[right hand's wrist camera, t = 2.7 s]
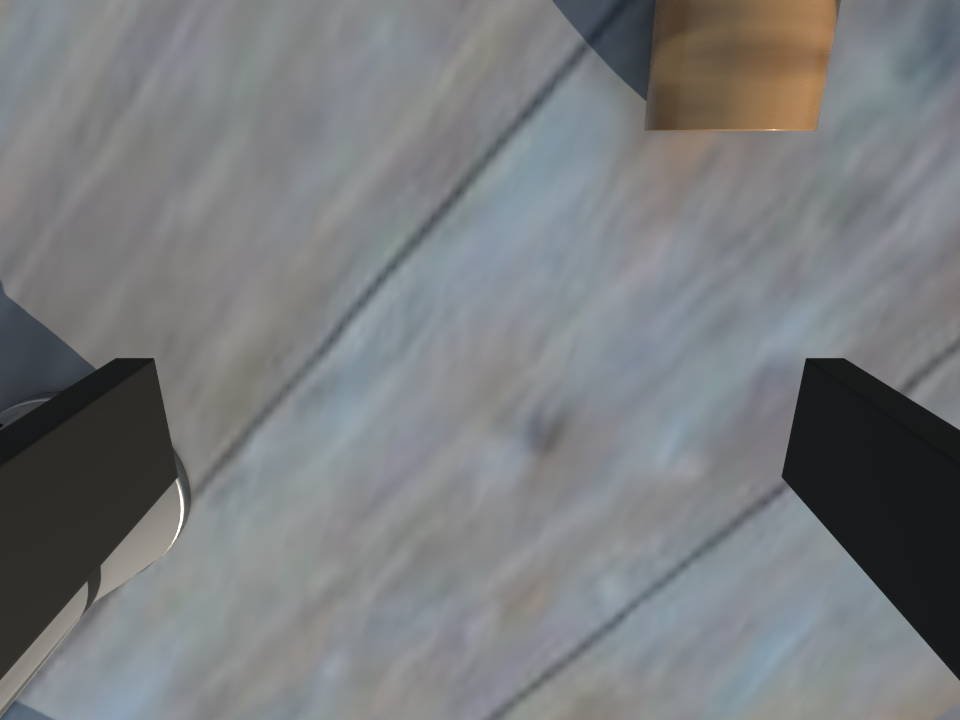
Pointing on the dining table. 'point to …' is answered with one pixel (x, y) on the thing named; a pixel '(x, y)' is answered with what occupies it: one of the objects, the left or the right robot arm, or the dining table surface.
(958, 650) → the right robot arm
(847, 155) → the dining table surface
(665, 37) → the rod
